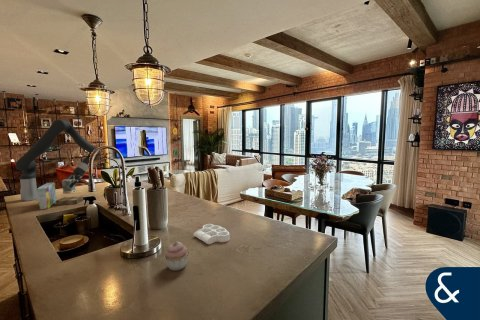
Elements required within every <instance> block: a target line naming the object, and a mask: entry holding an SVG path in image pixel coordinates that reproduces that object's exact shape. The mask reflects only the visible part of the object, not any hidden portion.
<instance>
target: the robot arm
mask: <svg viewBox="0 0 480 320" xmlns="http://www.w3.org/2000/svg"><path fill="white" fill-rule="evenodd" d="M62 132H65V133H66V134H68V135H69V136H70V137H71V139H73V141H74V143H75V144H76V145H77V146H78V147H79V148H81V149H82V150H83V151H86V152H88V155H87V156H86V157H84V158H83V160H81V162H80V163H79V164H78V165H77V166H76V167H75V168H74V169H73V171H72V173H73V174H69V175H68V176H67V177H66V178H65V179H73V182H72V183H71V184H70V186H69V187H70V188H72V187H73V186H74V185H75V186H76V184H79V183H80V182H81V181H82V179H83V177H84V176H85V174H86V173H87V172H88V171H89V169H88V163H89V157H90V154H91V152H92V151H93V150H94V149H96V148H97V147H96V146H94V145H93V144H92V143H90V142H89V141H88V140H87V139H86V138H84V136H82V134H80V133H79V132H78V131H77V130H76V129H75V127H74V125H72V123H70V121H68V119H55V120H54V121H53V122H52V123H51V125H50V126H49V127H48V129H47V130H46V131H45V132H44V133H43V134H42V135H41V136H40V138H39V139H37V140H36V142H35V143H34V144H33V145H32V146H31V147H30V148H29V149H28V151H27V152H26V153H24V154H23V155H22V156H21V157H20V158H18V160H16V162H15V169H16V170H18V171H21V172H22V173H21V174H20V176H19V181H20V189H19V192H20V201H21V202H22V201H23V202H26V201H29V202H30V201H34V200H38V196H37V190H36V189H37V187H38V186H37V180H36V178H37V177H36V175H37V163H36V161H35V160H36V159H37V158H39V157H40V156H42V155H43V154H45V153H46V152H47V151H49V149H50V148H51V147H52V146H53V145H54V143H55V139H56V138H57V136H59V135H60V134H61V133H62ZM100 155H101V151H100V152H99V153H98V154H97V155H96V157H95V159H94V162H96V161H97V159H99V157H100Z"/></svg>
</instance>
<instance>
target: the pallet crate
mask: <svg viewBox="0 0 480 320" xmlns="http://www.w3.org/2000/svg"><path fill="white" fill-rule="evenodd" d="M72 182H73V179H66V178H65V179H63V180H61V184H62V185H61V186H62V194H63V195H66V194H73V193H76V192H77V189H76V184H75V185H74V186H73V187H72V188H70V187H69V186H70V184H71V183H72Z"/></svg>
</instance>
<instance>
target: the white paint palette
mask: <svg viewBox="0 0 480 320" xmlns="http://www.w3.org/2000/svg"><path fill="white" fill-rule="evenodd" d="M193 237H195V238H198V239H199V240H200V241H203V242H204V243H205V244H206V245H211V244H213V243H216V242H217V243H218V242H219V243H225V242H229V241H230V240H231V239H230V231H229V230H227V229H226V228H225V227H222V226H221V225H216V224H213V223H207V224H204V225H202V228H200V229H198V230H196V231H195V232H193Z"/></svg>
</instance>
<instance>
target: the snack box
mask: <svg viewBox="0 0 480 320" xmlns="http://www.w3.org/2000/svg"><path fill="white" fill-rule="evenodd" d="M55 184H56V183H55V182H46V183H45V184H42V185H41V186H39V187H38V188H37V189H36V190H37V196H38V199H37V201H38V202H37V203H38V209H39V211H40V210H49V208H51V206H53V205H54V204H56V200H58V199H57V193H56V187H55V186H56V185H55Z"/></svg>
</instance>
